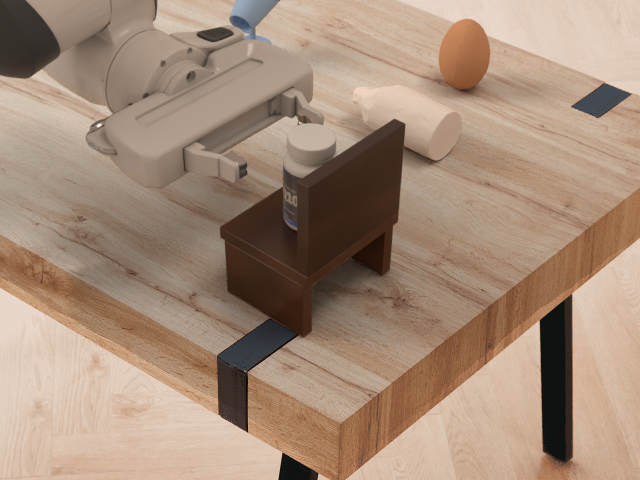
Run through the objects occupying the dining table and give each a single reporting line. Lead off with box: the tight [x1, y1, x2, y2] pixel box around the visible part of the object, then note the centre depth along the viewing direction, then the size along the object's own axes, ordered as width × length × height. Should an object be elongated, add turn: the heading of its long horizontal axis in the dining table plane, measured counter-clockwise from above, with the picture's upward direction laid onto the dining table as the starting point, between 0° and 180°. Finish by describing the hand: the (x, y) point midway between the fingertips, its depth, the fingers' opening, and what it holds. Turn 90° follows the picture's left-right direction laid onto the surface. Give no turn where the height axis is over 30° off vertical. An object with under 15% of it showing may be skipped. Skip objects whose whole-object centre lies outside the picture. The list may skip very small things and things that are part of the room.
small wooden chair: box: [219, 119, 406, 338], centre depth 92 cm, size 10×12×16 cm
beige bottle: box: [352, 84, 463, 161], centre depth 113 cm, size 6×12×6 cm, turn 51°
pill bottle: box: [282, 123, 339, 231], centre depth 90 cm, size 5×5×8 cm
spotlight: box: [228, 0, 281, 45], centre depth 123 cm, size 5×10×7 cm
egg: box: [438, 18, 491, 90], centre depth 121 cm, size 6×6×8 cm
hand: (281, 148), depth 90 cm, fingers open, 8 cm apart
